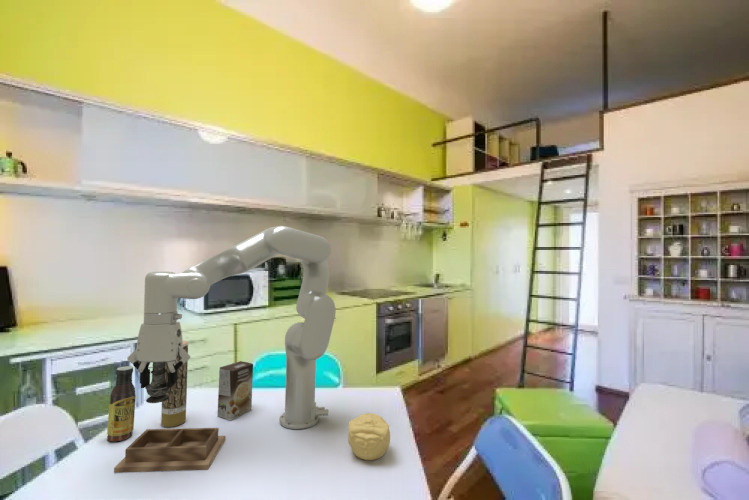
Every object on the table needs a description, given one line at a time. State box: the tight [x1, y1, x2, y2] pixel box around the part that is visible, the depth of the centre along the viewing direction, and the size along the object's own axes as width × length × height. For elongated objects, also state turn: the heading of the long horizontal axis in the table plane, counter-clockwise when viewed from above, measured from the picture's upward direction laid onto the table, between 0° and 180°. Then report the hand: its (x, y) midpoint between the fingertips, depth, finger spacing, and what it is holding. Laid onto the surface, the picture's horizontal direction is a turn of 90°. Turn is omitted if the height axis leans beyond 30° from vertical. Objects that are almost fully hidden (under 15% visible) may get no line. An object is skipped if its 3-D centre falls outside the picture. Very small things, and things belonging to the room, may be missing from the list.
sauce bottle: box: [106, 365, 137, 443], centre depth 103 cm, size 7×6×20 cm
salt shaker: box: [144, 362, 169, 404], centre depth 94 cm, size 6×6×12 cm
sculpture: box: [347, 412, 391, 461], centre depth 98 cm, size 11×12×11 cm
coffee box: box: [216, 360, 254, 421], centre depth 120 cm, size 9×6×16 cm
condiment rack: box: [113, 427, 226, 473], centre depth 95 cm, size 22×14×4 cm, turn 96°
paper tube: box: [160, 340, 189, 428], centre depth 112 cm, size 7×7×25 cm
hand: (158, 385), depth 95 cm, fingers closed on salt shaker, 5 cm apart
